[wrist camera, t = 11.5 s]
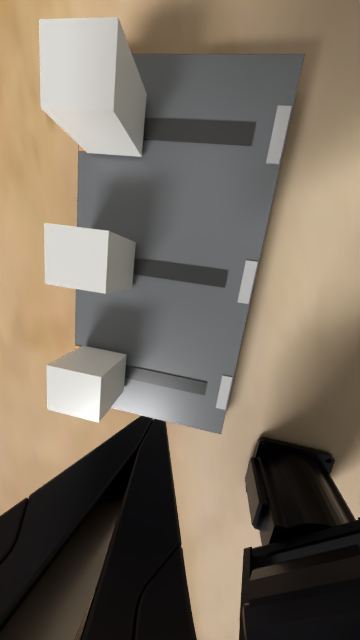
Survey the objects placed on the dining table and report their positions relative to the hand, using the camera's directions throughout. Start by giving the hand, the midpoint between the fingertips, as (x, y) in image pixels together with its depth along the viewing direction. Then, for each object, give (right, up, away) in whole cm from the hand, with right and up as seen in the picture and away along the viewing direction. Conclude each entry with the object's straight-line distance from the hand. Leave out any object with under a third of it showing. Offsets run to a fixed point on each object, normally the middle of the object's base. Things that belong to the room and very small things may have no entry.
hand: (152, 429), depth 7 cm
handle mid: (-5, +8, +9) cm, 13 cm away
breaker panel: (0, +8, +11) cm, 13 cm away
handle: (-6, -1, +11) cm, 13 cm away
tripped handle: (-3, +17, +7) cm, 18 cm away
